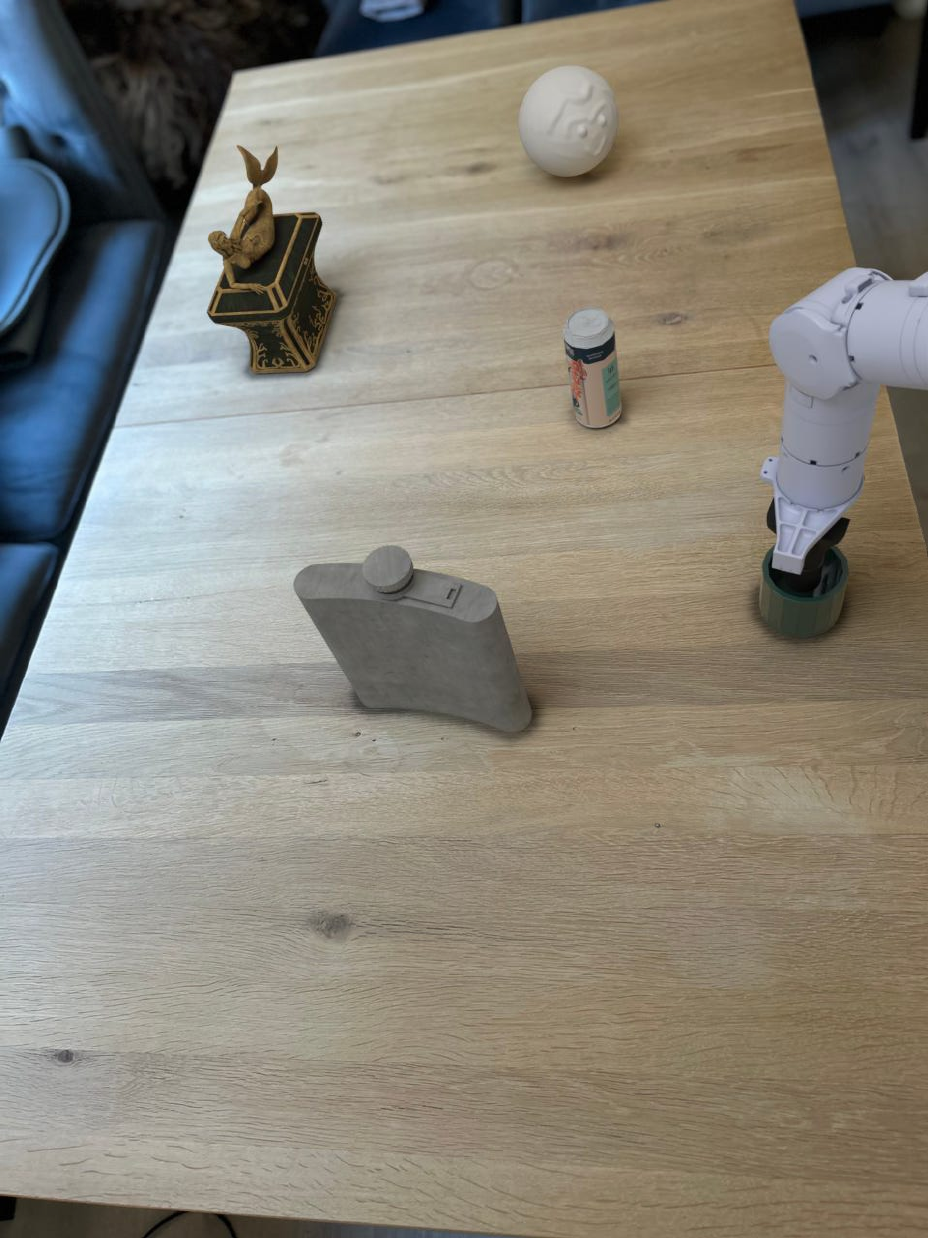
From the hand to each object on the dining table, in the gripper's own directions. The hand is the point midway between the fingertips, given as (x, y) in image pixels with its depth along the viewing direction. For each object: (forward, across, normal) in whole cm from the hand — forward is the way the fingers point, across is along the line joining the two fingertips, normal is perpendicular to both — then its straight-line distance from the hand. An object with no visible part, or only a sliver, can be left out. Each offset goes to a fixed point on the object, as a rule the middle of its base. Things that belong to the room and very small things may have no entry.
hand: (807, 553), depth 78 cm
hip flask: (+8, +19, -25) cm, 32 cm away
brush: (+4, 0, 0) cm, 4 cm away
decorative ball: (+8, -54, -44) cm, 70 cm away
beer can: (+8, -16, -25) cm, 31 cm away
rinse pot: (+8, 0, 0) cm, 8 cm away
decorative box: (+8, -20, -65) cm, 68 cm away
